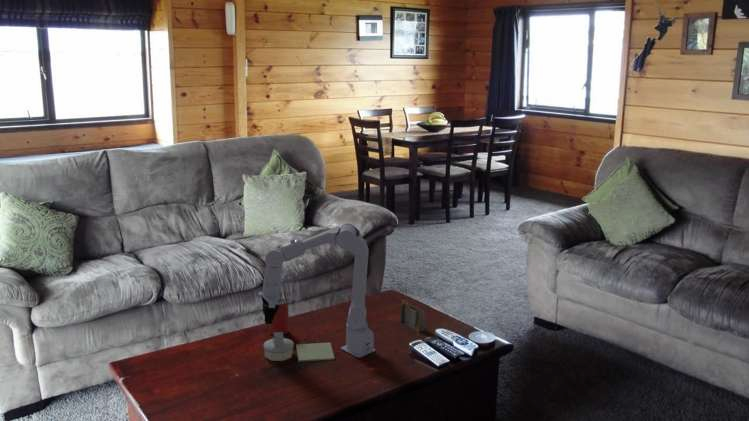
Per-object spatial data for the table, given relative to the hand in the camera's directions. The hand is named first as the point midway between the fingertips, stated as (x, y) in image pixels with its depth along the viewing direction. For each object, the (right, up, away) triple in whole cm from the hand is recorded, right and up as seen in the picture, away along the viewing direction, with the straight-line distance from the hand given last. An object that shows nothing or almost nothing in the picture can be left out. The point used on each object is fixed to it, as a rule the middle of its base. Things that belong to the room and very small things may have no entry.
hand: (267, 318), depth 232 cm
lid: (+4, -9, -4) cm, 11 cm away
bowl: (+4, -12, -3) cm, 13 cm away
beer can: (+2, -7, +14) cm, 16 cm away
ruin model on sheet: (+51, -7, +22) cm, 56 cm away
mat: (+16, -11, -1) cm, 20 cm away
